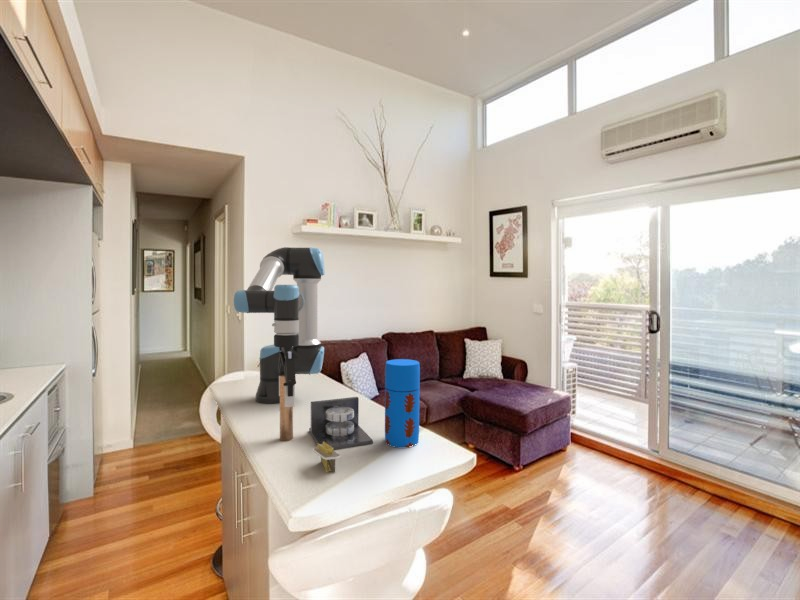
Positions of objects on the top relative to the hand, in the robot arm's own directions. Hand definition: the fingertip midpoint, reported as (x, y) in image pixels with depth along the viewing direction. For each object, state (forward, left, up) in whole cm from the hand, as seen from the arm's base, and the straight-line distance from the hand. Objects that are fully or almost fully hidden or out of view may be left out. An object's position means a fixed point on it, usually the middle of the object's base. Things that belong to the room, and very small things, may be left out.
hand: (286, 400), depth 126 cm
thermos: (+16, +33, -12) cm, 39 cm away
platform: (+25, +7, -13) cm, 29 cm away
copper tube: (0, 0, -12) cm, 12 cm away
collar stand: (+5, +16, -12) cm, 21 cm away
